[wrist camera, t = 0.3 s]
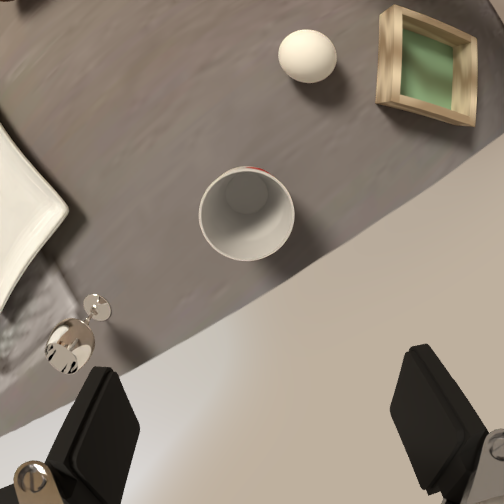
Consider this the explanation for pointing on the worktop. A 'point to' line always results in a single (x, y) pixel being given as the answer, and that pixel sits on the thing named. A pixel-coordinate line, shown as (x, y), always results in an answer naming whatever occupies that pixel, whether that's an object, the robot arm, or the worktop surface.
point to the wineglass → (76, 337)
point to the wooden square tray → (426, 67)
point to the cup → (246, 214)
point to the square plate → (23, 214)
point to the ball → (307, 56)
